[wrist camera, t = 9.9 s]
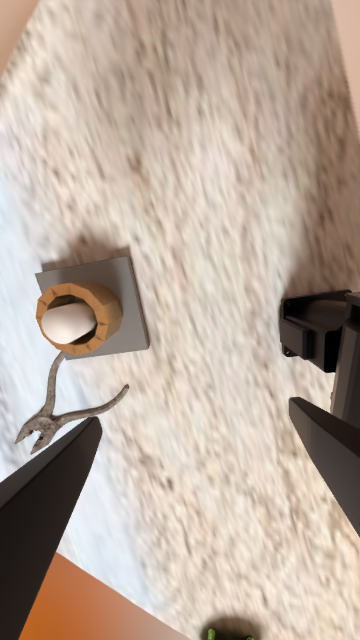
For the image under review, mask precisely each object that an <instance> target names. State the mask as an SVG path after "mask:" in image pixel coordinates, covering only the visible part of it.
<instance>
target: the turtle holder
mask: <svg viewBox="0 0 360 640" xmlns="http://www.w3.org/2000/svg"><path fill="white" fill-rule="evenodd" d="M208 640H215V630H214V629H213V628H210V629H209V630H208ZM246 640H254V639H253V638H252V637H248V638H247V639H246Z"/></svg>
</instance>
